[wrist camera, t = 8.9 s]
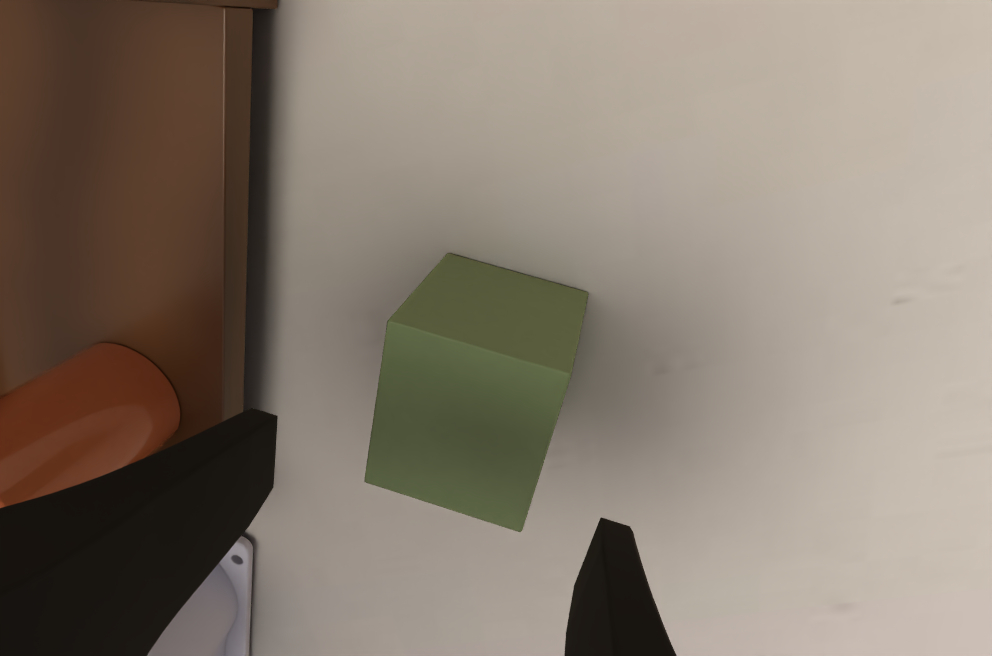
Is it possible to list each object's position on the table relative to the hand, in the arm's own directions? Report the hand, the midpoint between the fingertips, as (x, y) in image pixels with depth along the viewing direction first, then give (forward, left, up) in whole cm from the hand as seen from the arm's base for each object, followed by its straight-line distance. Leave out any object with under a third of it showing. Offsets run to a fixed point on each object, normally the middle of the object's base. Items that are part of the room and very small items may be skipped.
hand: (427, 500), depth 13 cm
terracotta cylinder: (-4, +11, -5) cm, 13 cm away
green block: (0, 0, -7) cm, 7 cm away
